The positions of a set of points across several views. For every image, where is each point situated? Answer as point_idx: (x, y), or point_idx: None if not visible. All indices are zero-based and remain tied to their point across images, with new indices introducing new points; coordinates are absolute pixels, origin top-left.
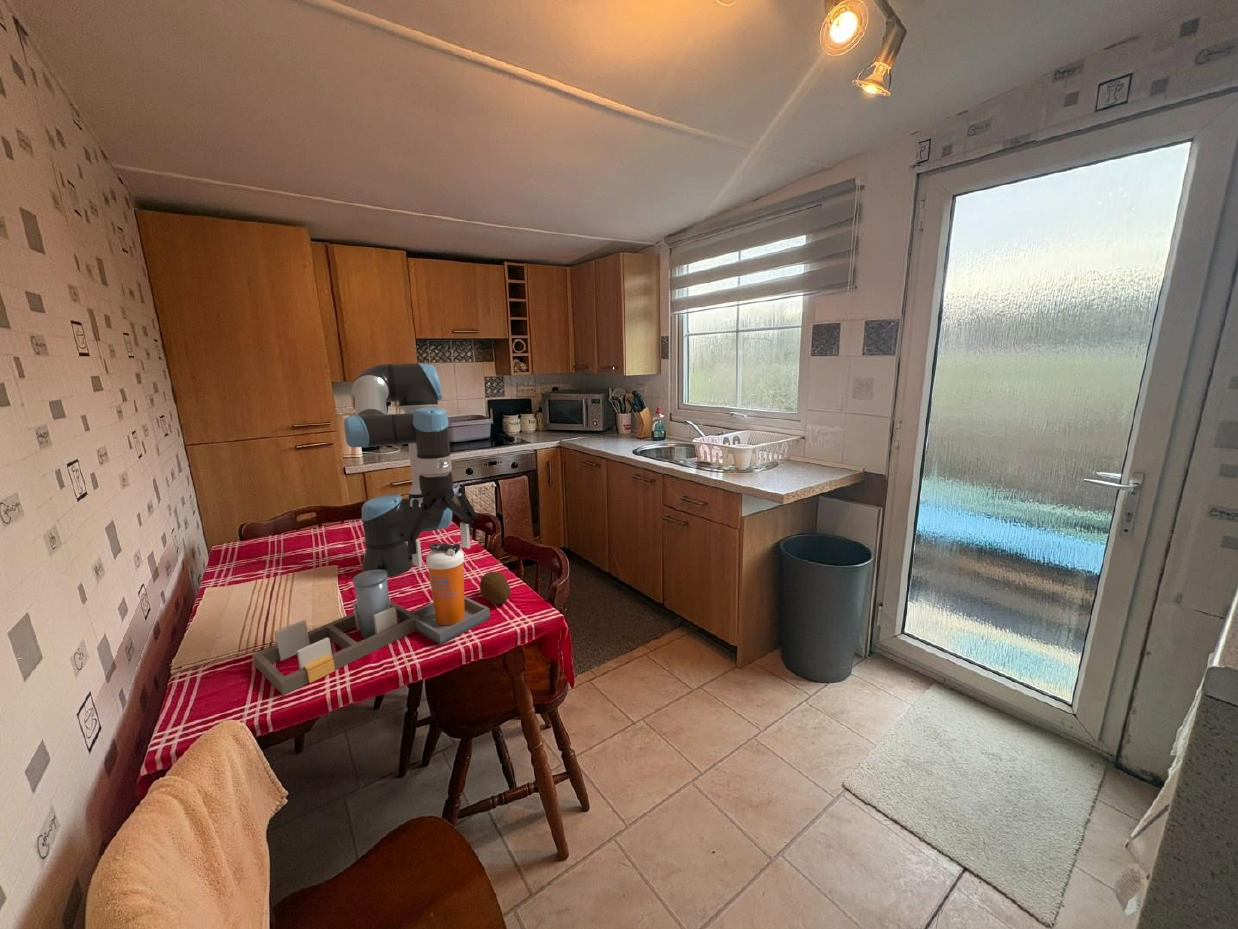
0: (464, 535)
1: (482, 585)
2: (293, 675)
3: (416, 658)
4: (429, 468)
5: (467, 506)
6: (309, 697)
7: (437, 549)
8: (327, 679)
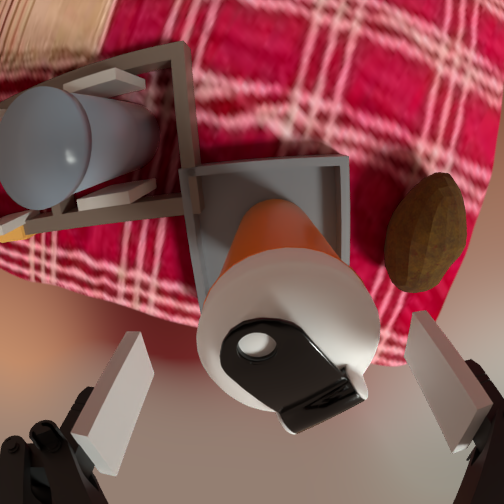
0: (434, 384)
1: (402, 234)
2: None
3: (153, 303)
4: None
5: None
6: (15, 267)
7: (246, 389)
8: (31, 243)
